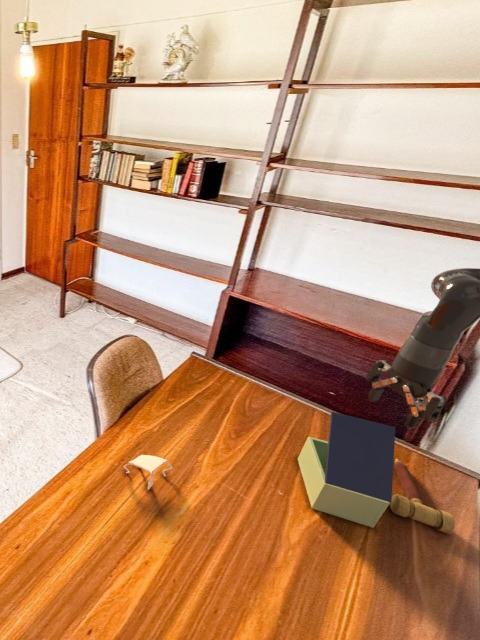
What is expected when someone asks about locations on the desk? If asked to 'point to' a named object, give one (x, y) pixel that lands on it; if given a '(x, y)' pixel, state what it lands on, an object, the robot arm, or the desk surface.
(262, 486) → the desk surface
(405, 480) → the gavel
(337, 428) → the lid
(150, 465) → the miniature stool
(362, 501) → the box
